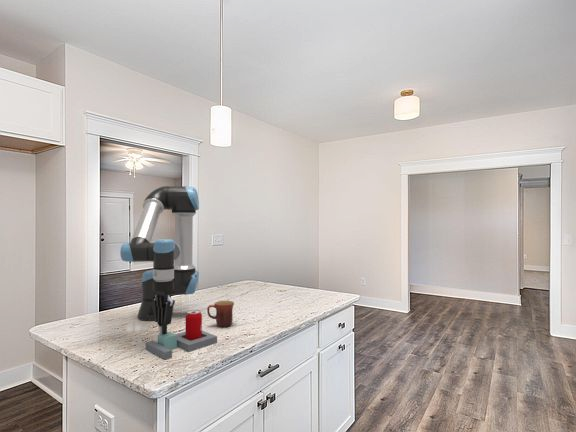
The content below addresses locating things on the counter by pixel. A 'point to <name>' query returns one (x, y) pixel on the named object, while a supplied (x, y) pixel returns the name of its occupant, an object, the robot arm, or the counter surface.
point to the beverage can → (193, 325)
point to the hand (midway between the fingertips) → (162, 342)
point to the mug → (222, 313)
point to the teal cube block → (168, 340)
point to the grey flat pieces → (181, 344)
